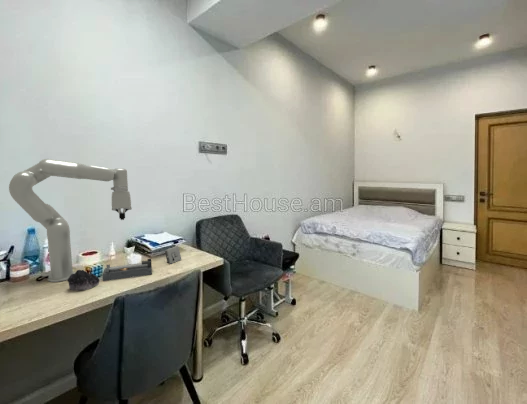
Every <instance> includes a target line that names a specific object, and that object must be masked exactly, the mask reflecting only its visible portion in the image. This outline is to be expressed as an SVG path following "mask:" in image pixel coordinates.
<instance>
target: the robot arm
mask: <svg viewBox="0 0 527 404" xmlns="http://www.w3.org/2000/svg"><path fill="white" fill-rule="evenodd" d="M50 177H59V178H60V177H61V178H66V179H67V178H68V179H74V180H75V179H76V180H77V179H78V180H81V179H82V180H91V181H101V182H110V181H112V183H113V186H112V187H110V190H112V193H111V211H115V212H117V213H118V216H119V219H120V220H121V221H124V220H125V219H126V212H128V211H130V210H132V208H133V207H132V199H131V194H130V191H129V187H128V186H129V185H128V184H129V183H128V171H127V169H126V168H109V167H104V166H103V167H102V166H96V165H89V164H88V165H87V164H83V163H79V162H70V161H66V160H65V161H64V160H57V159H51V158H50V159H49V158H44V159H42V160H40V161H39V162H38V163H36V164H33V165H32V166H31V167H29V168H27V169H24V170H23V171H19V172H17V173H15V174H14V175H13V176H12V178H11V180H10V182H9V185H8V192H9V194H10V196H11V198H12V199H13V200H14V201H15V203H17V204H18V205H19V206H20V208H22V210H24V211H25V213H27V214H28V215H29V217H30V218H31V219H32V220H33V221H35V222H36V223H39V224H41V226H42V227H44V228H45V229H46V237H47V247H48V256H49V266H50V270H49V271H44V272H41V273H40V276H41V277H42V278H44V277H47V281H48V282H50V283H51V282H52V283H58V282H65V281H68V278H69V277H70V275H71V274H75V273H76V271H74V270H73V258H72V257H73V256H72V247H71V246H72V245H71V230H70V226H69V222H68V221H67V220H66V219H65V218H64V217H63V216H62V215H61V214H60V213H59V212H58V211H57V210H56V209H55V208H54V206H52V205H50V204H48V203H46V202H44V200H43V199H41V198H40V196H39V195H38V194H37V193H36V192H35V191H34V190H33V187H34V186H36V185H39V183H42V182H43V181H44V180H47V179H48V178H50Z"/></svg>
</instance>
